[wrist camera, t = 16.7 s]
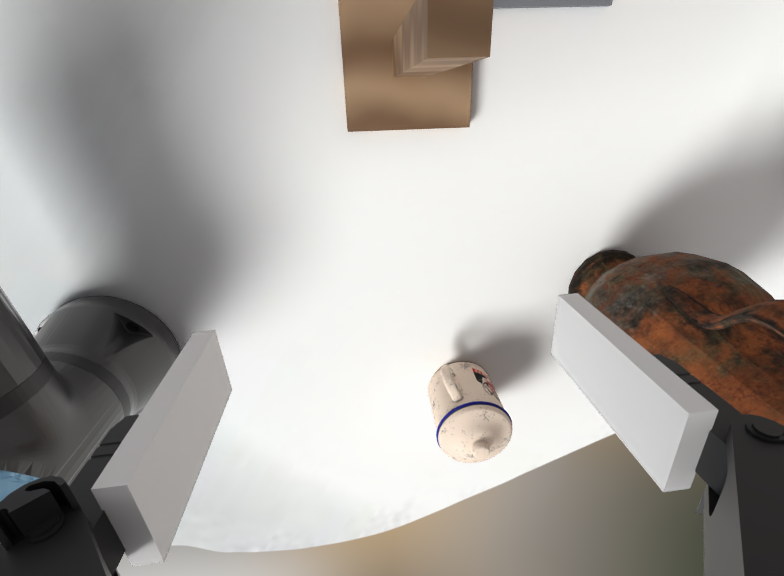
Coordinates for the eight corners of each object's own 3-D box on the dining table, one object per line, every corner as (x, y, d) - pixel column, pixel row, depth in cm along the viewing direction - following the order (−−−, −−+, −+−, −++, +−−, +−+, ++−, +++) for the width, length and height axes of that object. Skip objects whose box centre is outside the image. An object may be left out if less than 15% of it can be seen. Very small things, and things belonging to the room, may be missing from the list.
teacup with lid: (499, 395, 57) (532, 463, 46) (441, 421, 58) (460, 492, 47) (468, 331, 52) (497, 391, 41) (405, 360, 53) (417, 425, 43)
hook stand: (465, 126, 41) (567, 151, 21) (347, 130, 41) (339, 161, 21) (475, -84, 34) (639, -335, 14) (332, -83, 33) (298, -346, 14)
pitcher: (569, 366, 56) (771, 621, 29) (507, 242, 47) (710, 438, 20) (686, 307, 53) (1031, 526, 26) (642, 164, 44) (1087, 268, 17)
